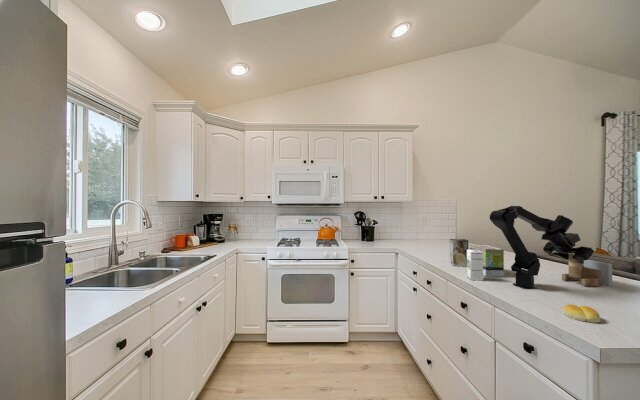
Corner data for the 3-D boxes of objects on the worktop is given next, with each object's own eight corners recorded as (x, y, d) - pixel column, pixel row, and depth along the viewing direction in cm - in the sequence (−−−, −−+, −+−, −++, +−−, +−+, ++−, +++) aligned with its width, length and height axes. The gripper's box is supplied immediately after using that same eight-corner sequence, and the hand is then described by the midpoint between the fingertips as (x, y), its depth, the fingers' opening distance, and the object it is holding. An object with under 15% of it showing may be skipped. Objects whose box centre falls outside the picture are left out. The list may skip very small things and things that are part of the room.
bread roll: (559, 310, 92) (559, 299, 92) (594, 316, 87) (594, 304, 87) (566, 319, 85) (565, 307, 85) (604, 326, 80) (604, 313, 80)
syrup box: (483, 280, 126) (483, 251, 126) (470, 280, 127) (470, 251, 127) (478, 277, 132) (478, 249, 132) (466, 276, 133) (466, 249, 133)
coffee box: (464, 264, 160) (464, 238, 160) (469, 266, 154) (469, 240, 154) (449, 263, 162) (449, 238, 162) (452, 266, 155) (452, 239, 155)
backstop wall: (608, 285, 119) (608, 264, 119) (583, 279, 129) (583, 259, 129) (612, 285, 119) (612, 264, 119) (587, 279, 129) (587, 259, 129)
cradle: (585, 286, 117) (585, 271, 117) (561, 279, 127) (561, 265, 127) (601, 285, 118) (600, 270, 118) (576, 279, 128) (576, 265, 128)
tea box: (504, 277, 133) (504, 248, 133) (485, 277, 133) (485, 248, 133) (486, 269, 148) (486, 244, 148) (468, 269, 148) (468, 244, 148)
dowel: (576, 278, 120) (576, 255, 120) (566, 275, 124) (565, 253, 124) (584, 278, 120) (583, 254, 120) (573, 275, 125) (573, 253, 125)
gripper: (590, 229, 113) (611, 253, 114) (547, 225, 131) (566, 246, 132) (575, 247, 112) (597, 272, 113) (534, 241, 130) (553, 262, 131)
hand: (577, 262), depth 122 cm, fingers closed on dowel, 4 cm apart
